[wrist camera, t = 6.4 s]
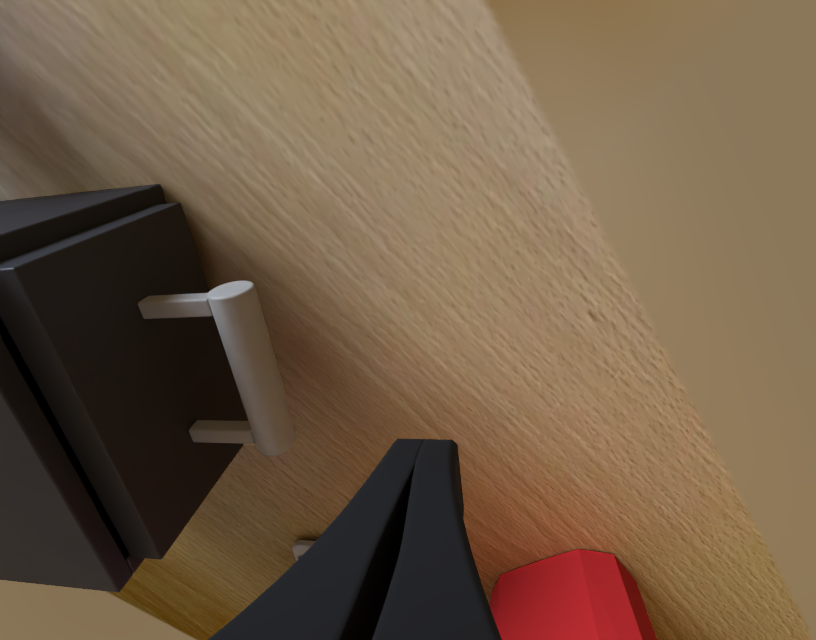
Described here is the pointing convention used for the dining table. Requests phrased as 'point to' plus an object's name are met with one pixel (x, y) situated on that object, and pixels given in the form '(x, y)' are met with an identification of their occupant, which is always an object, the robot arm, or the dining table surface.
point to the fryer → (33, 435)
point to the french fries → (570, 600)
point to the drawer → (143, 368)
